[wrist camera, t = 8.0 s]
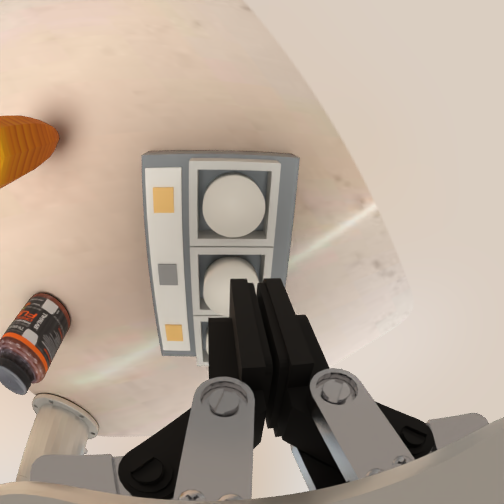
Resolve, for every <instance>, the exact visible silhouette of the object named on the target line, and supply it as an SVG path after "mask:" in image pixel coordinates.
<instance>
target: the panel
mask: <svg viewBox="0 0 504 504" xmlns="http://www.w3.org/2000/svg"><path fill="white" fill-rule="evenodd" d="M299 159H300V158H299V157H297V156H295V155H293V154H286V153H270V152H250V151H214V150H183V151H149V152H147V153H145V154H143V155H142V188H143V207H144V222H145V235H146V246H147V256H148V265H149V274H150V282H151V290H152V297H153V305H154V311H155V318H156V324H157V330H158V336H159V342H160V347H161V353H162V356H196V358H197V366H209V355H208V353H207V351H206V330H207V327H208V318H218V317H229V316H223V315H219V314H217V313H215V312H214V311H212V310H211V309H210V308H209V307H208V306H207V304H206V303H205V300H204V297H203V287H204V275H205V272H206V270H207V268H208V267H209V266H210V265H211V264H212V263H213V262H214V261H216V260H218V259H220V258H223V257H229V256H233V257H239V258H242V259H245V260H246V261H248V262H249V263H250V264H251V265H252V266H253V267H254V269H255V271H256V273H257V277H258V281H259V283H263V280H264V278H281V280H282V282H283V285H284V287H285V284H286V277H287V269H288V261H289V253H290V245H291V236H292V227H293V219H294V209H295V200H296V190H297V180H298V170H299ZM229 172H238V173H242V174H245V175H247V176H248V177H250V178H251V179H252V180H253V181H254V182H255V183H256V184H257V186H258V187H259V189H260V191H261V192H262V194H263V197H264V200H265V214H264V217H263V219H262V221H261V223H260V224H259V226H258V227H257V228H256V229H255V230H253V231H252V232H250V233H249V234H247V235H244V236H241V237H226V236H222V235H220V234H218V233H216V232H215V231H213V230H212V229H211V228H210V227H209V226H208V224H207V223H206V221H205V219H204V216H203V209H202V207H203V199H204V193H205V190H206V188H207V186H208V185H209V184H210V182H211V181H212V180H213V179H215V178H216V177H218V176H219V175H221V174H224V173H229Z"/></svg>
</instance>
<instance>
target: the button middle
mask: <svg viewBox="0 0 504 504" xmlns="http://www.w3.org/2000/svg"><path fill="white" fill-rule="evenodd" d="M230 279H247V281H248V283H253V284H254V287H255V292H256V294H257V284H258V283H259V281H258V277H257V273H256V271H255V269H254V267H253V266H252V265H251V264H250V263H249V262H248V261H246V260H245V259H242V258H239V257H233V256H229V257H223V258H220V259H218V260H216V261H214V262H213V263H212V264H211V265H210V266H209V267H208V268H207V270H206V272H205V275H204V287H203V297H204V300H205V303H206V304H207V306H208V307H209V308H210V309H211V310H212V311H214V312H215V313H217V314H219V315H223V316H229V303H230Z"/></svg>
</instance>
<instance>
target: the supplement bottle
mask: <svg viewBox="0 0 504 504" xmlns="http://www.w3.org/2000/svg"><path fill="white" fill-rule="evenodd" d="M69 326H70V319H69V315H68V313H67V311H66V309H65V308H64V306H63V305H62V304H61V303H60V302H59V301H58V300H57V299H55V298H54V297H52V296H50V295H48V294H44V293H38V294H35V295H34V296H33V297H32V298H31V299H29V301H28V302H27V303H26V305H25V306H24V307H23V309H22V310H21V311H20V313H19V314H18V315H17V317H16V318H15V320H14V321H13V322H12V324H11V325H10V326H9V328H8V329H7V331H6V332H5V334H4V335H3V337H2V338H1V339H0V382H1V383H2V384H3V385H4V386H5V387H6V388H8V389H9V390H11V391H12V392H14V393H16V394H20V395H24V394H26V393H27V391H28V389H29V387H30V386H31V383H38V382H40V381H42V380H43V378H44V377H45V374H46V372H47V370H48V368H49V366H50V364H51V362H52V360H53V358H54V356H55V354H56V352H57V350H58V348H59V346H60V344H61V343H62V341H63V339H64V337H65V335H66V333H67V331H68V329H69Z"/></svg>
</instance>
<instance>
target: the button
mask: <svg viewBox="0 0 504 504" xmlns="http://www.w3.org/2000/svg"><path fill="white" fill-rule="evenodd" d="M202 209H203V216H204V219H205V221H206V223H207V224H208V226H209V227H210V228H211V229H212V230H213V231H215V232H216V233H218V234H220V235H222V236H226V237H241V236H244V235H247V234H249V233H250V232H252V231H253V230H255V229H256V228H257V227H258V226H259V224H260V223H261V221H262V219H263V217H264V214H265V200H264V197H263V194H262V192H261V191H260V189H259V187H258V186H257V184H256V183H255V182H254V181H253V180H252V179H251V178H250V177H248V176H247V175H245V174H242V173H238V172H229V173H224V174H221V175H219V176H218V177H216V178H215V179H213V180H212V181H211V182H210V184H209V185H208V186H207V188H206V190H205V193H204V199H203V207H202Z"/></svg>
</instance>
